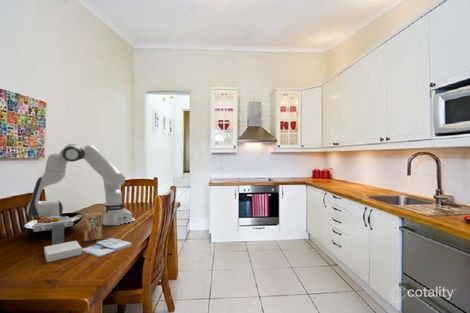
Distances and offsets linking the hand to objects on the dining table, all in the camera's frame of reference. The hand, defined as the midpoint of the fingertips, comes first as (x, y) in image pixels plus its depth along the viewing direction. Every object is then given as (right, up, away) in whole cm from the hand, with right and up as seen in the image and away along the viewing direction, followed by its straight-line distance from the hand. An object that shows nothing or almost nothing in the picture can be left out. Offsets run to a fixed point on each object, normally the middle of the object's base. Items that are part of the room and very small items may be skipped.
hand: (55, 227), depth 147 cm
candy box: (+23, -7, 0) cm, 24 cm away
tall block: (+9, -7, -10) cm, 15 cm away
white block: (+21, -7, -23) cm, 32 cm away
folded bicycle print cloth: (+38, -8, -14) cm, 41 cm away
